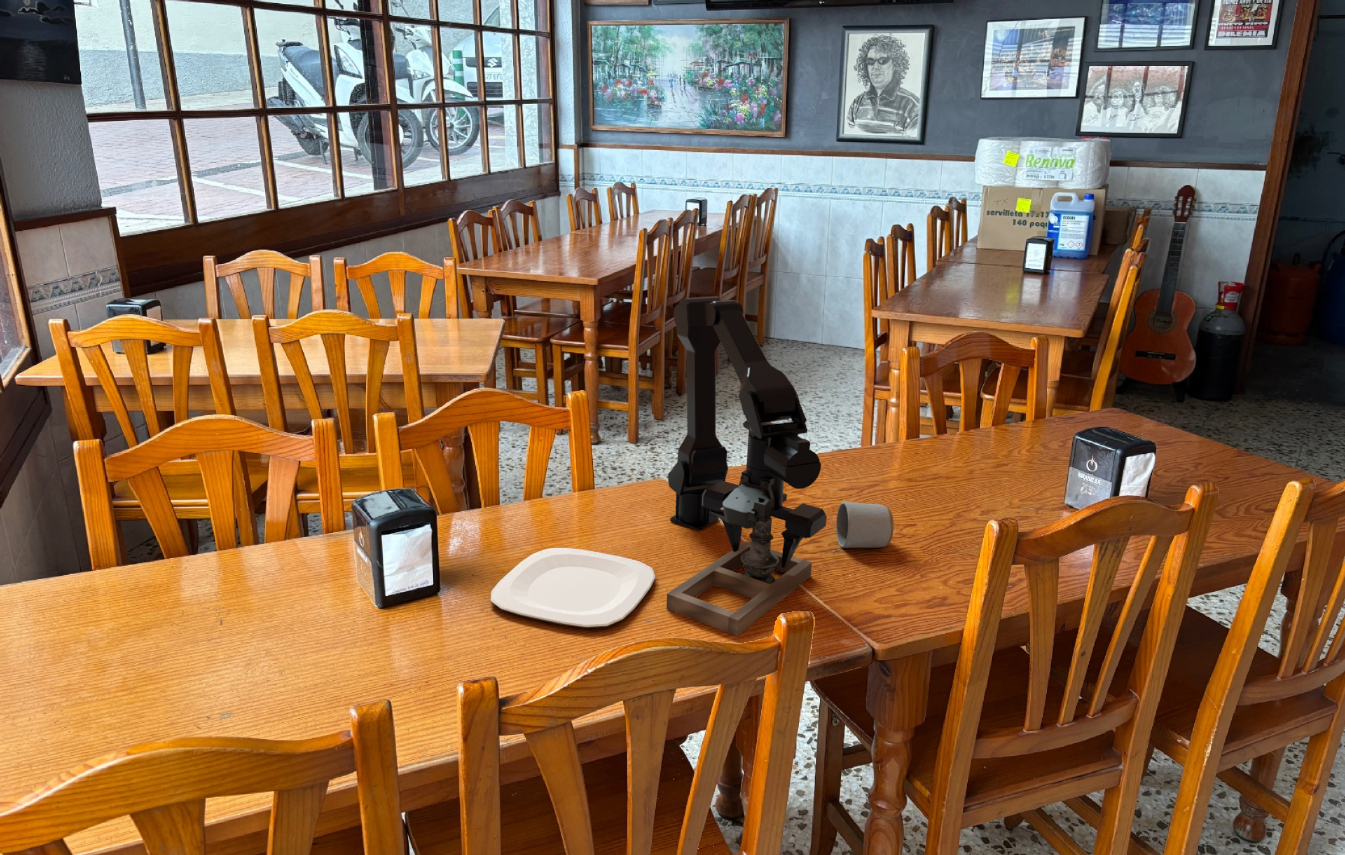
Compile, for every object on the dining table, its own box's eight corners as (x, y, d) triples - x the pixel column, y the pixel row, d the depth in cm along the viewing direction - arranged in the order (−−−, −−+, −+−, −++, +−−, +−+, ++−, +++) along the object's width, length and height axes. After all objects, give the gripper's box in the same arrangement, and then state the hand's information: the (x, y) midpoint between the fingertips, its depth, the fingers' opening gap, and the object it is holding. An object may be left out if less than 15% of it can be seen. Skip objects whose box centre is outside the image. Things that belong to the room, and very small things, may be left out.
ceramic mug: (893, 554, 152) (898, 511, 149) (845, 555, 151) (849, 512, 149) (874, 528, 162) (878, 487, 160) (828, 529, 161) (832, 488, 159)
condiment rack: (666, 608, 133) (666, 593, 132) (744, 554, 150) (745, 541, 149) (737, 636, 127) (737, 620, 126) (810, 576, 144) (811, 562, 143)
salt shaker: (736, 570, 145) (740, 500, 141) (773, 570, 145) (778, 500, 141) (742, 589, 139) (746, 516, 135) (780, 588, 140) (786, 516, 136)
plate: (667, 573, 144) (667, 564, 144) (614, 644, 125) (614, 633, 124) (542, 550, 151) (542, 541, 150) (473, 613, 131) (473, 603, 131)
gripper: (683, 464, 135) (679, 560, 140) (796, 496, 125) (788, 598, 130) (723, 445, 144) (719, 535, 149) (832, 473, 134) (823, 569, 139)
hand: (759, 558), depth 141 cm, fingers closed on salt shaker, 8 cm apart
